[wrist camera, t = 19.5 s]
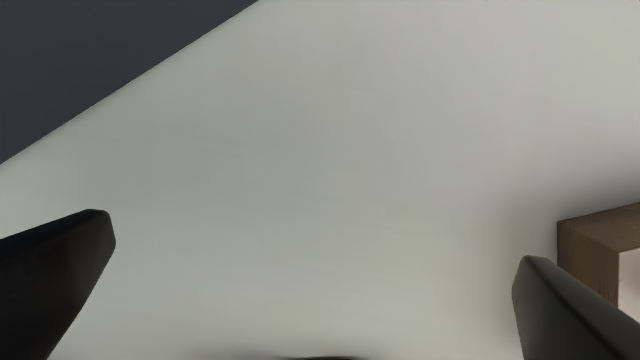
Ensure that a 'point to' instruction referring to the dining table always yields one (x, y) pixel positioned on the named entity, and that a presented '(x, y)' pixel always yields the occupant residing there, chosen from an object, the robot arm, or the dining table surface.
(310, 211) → the dining table surface
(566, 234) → the walnut block
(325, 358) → the eyeglasses
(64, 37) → the slate mat
